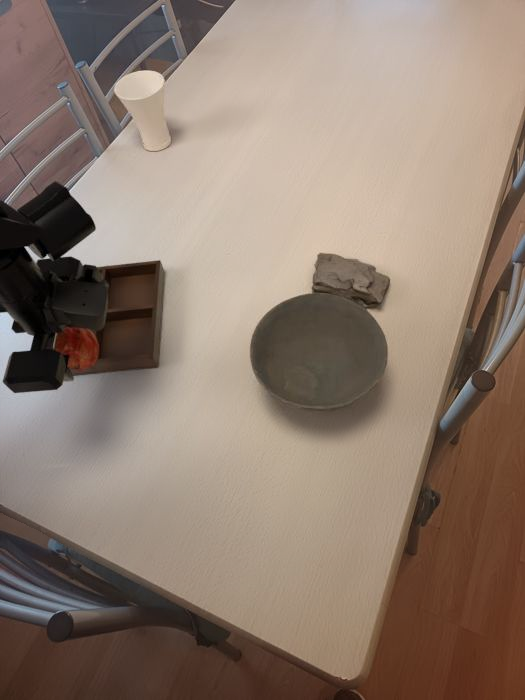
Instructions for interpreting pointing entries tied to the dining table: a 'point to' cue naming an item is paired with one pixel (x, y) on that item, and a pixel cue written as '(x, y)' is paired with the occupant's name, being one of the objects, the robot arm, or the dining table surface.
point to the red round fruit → (78, 347)
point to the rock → (349, 279)
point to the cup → (146, 106)
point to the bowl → (318, 351)
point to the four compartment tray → (130, 318)
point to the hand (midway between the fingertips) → (75, 355)
